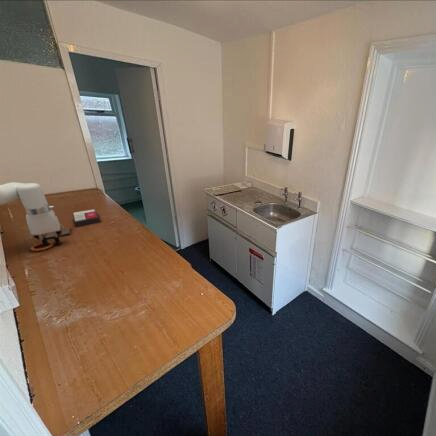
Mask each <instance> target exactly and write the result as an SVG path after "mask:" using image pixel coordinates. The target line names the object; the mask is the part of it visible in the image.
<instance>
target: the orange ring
mask: <svg viewBox="0 0 436 436" xmlns="http://www.w3.org/2000/svg"><path fill="white" fill-rule="evenodd" d="M47 242H48V244H49V245H48V246H47V247H46V246H44V245H43V243H42V242H39V243H35V244H33V245H32V246H30V251H31V252H41V251H46V250H48V249H51V248H53V247H54V246H55V242H53V241H47ZM40 246H44V247H40ZM37 247H39V248H37Z"/></svg>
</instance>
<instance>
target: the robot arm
mask: <svg viewBox="0 0 436 436" xmlns="http://www.w3.org/2000/svg"><path fill="white" fill-rule="evenodd" d="M18 200H20V201H21V203H22V205H23V209H24V210H25V212H26V214H25V221H26V223H27V227H28V233H27V237H28V238H34V239H37V240H40V242H41V243H43V245H42V246H44V247H47V246H49V245H50V244H48V242H49V241H48V239H46V236H44V235H45V234H47V233H51V232H52V233H53V235H54V238H53V240H54V244H55V245H56V246H59V244H60V242H61V240H60V237H58V236H59V235H60V233H61V232H63V231H65V230H66V228H67V227H65V226H63V224H61V222H60V220H59V218H58V216H57V214H56V213H55V211H54V209H55V208H54V205H49V203H48V200H47V198H46V195H45V193H44V191H43V188H42V185H40V184H39V183H37V182H28V183H24V182H17V181H13V182H12V181H11V182H7V183H2V184H0V206H1V205H2V206H3V205H6V204H9V203H12V202H15V201H18Z"/></svg>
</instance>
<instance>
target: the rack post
mask: <svg viewBox="0 0 436 436" xmlns="http://www.w3.org/2000/svg"><path fill="white" fill-rule="evenodd" d="M65 228H66V230H65V231H63V232H61V233H60V235H59V236H58V237H59V238H61V237H65V236H70V235H71V227H69V226H68V227H65ZM45 238H46V239H47V240H51V239H54V235H53V233H52V232H51V233H46V235H45Z"/></svg>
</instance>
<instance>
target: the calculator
mask: <svg viewBox="0 0 436 436" xmlns="http://www.w3.org/2000/svg"><path fill="white" fill-rule="evenodd" d="M72 217H73V223H74V225H75V227H82V226H86V225H87V226H88V225H91V224H92V225H93V224H97V223H100V218H99V216H98V212H97V210H96V209H95V208H94V209H88V210H82V211H81V210H80V211H76V212H73V213H72Z"/></svg>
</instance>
